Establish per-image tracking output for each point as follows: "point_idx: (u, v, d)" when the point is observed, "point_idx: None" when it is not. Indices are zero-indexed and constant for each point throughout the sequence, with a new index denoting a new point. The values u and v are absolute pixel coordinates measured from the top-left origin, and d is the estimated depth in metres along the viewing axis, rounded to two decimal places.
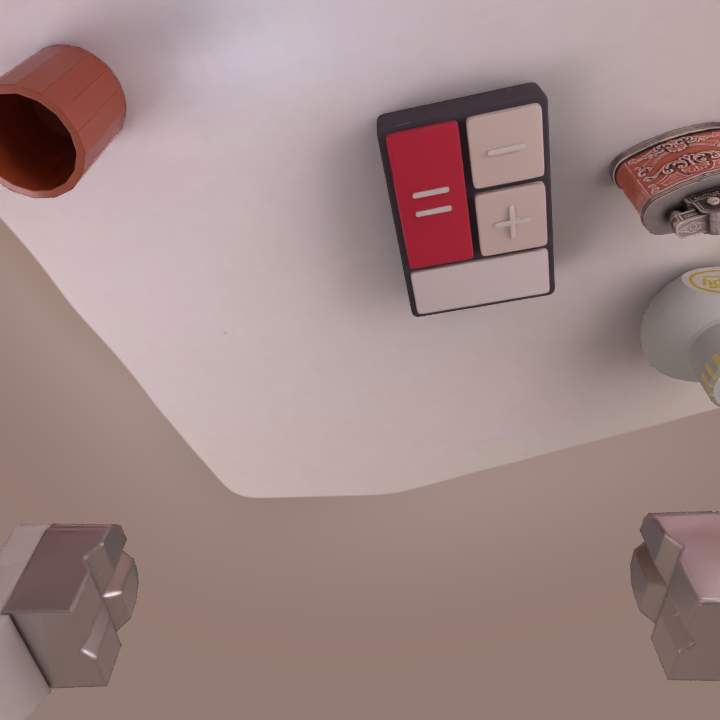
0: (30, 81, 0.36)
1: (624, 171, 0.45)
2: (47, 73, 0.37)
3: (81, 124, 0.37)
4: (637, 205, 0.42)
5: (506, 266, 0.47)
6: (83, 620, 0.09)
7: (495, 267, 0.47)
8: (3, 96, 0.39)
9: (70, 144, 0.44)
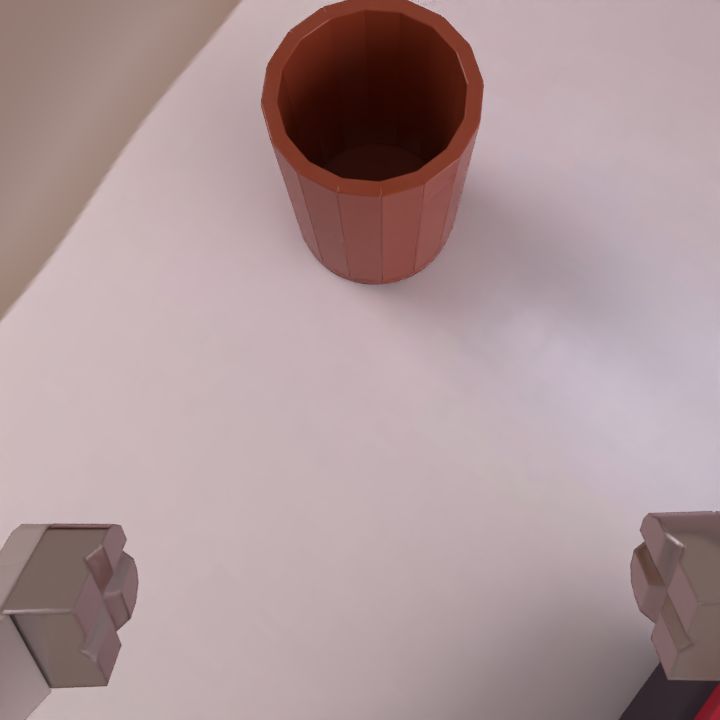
0: None
1: None
2: None
3: (459, 167, 0.20)
4: None
5: None
6: (83, 620, 0.09)
7: None
8: (366, 87, 0.24)
9: None
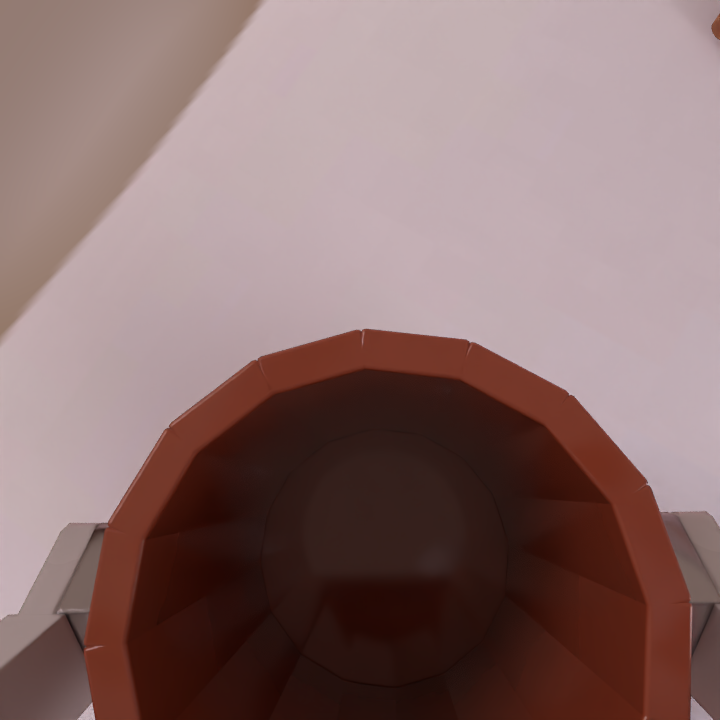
0: None
1: None
2: None
3: None
4: None
5: None
6: None
7: None
8: (367, 410, 0.11)
9: (263, 607, 0.14)
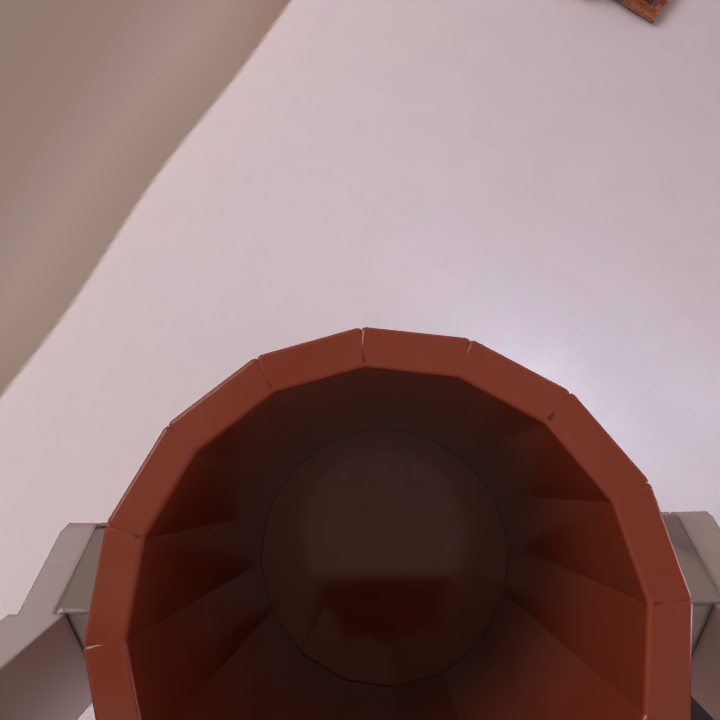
0: None
1: None
2: None
3: None
4: None
5: None
6: None
7: None
8: (367, 409, 0.11)
9: (263, 606, 0.14)
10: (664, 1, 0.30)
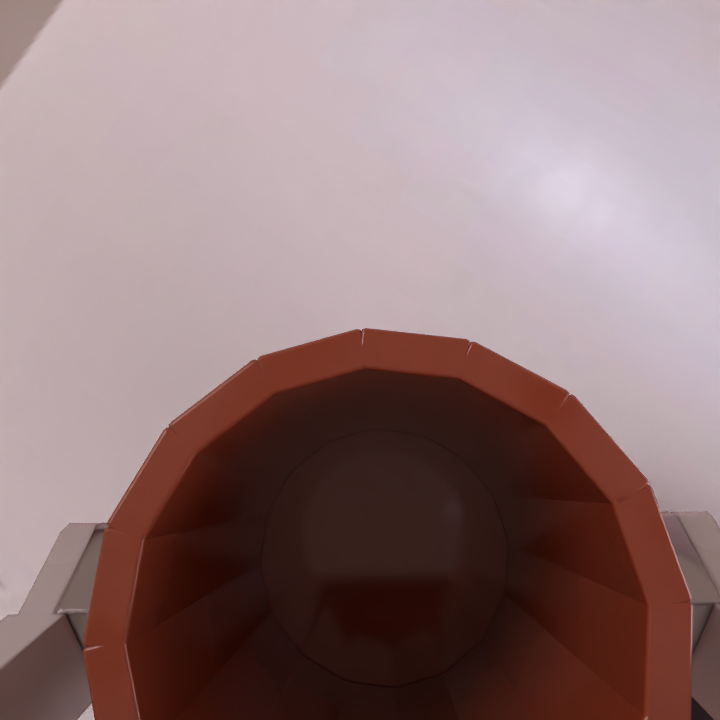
0: None
1: None
2: None
3: None
4: None
5: None
6: None
7: None
8: (367, 409, 0.11)
9: (263, 607, 0.14)
10: None
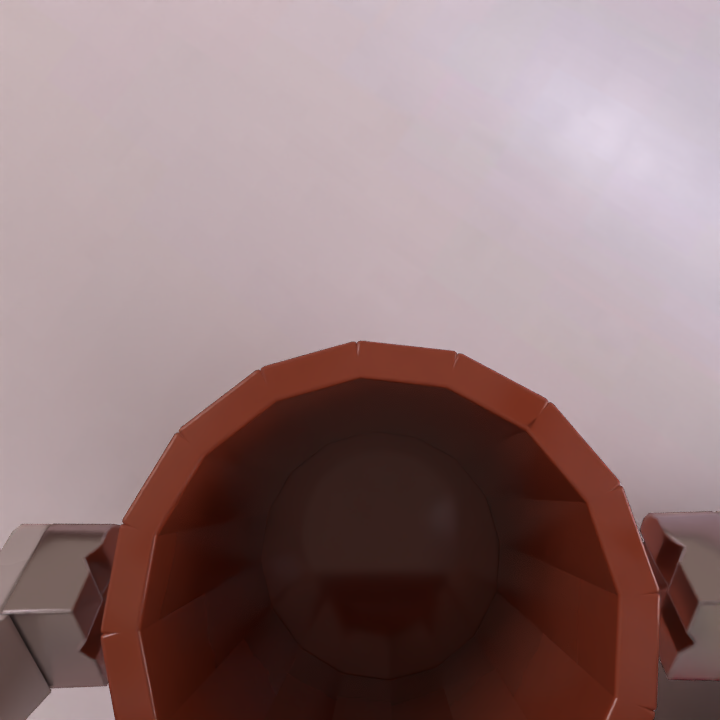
0: None
1: None
2: None
3: None
4: None
5: None
6: (83, 620, 0.09)
7: None
8: (363, 414, 0.12)
9: (264, 602, 0.15)
10: None
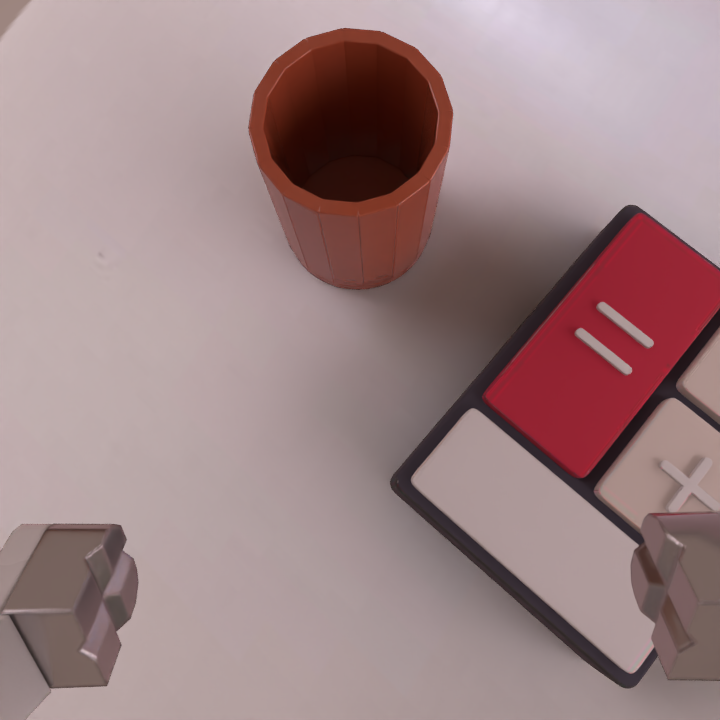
0: None
1: None
2: None
3: (430, 188, 0.21)
4: None
5: (610, 551, 0.23)
6: (83, 620, 0.09)
7: (595, 533, 0.23)
8: (347, 107, 0.25)
9: None
10: None
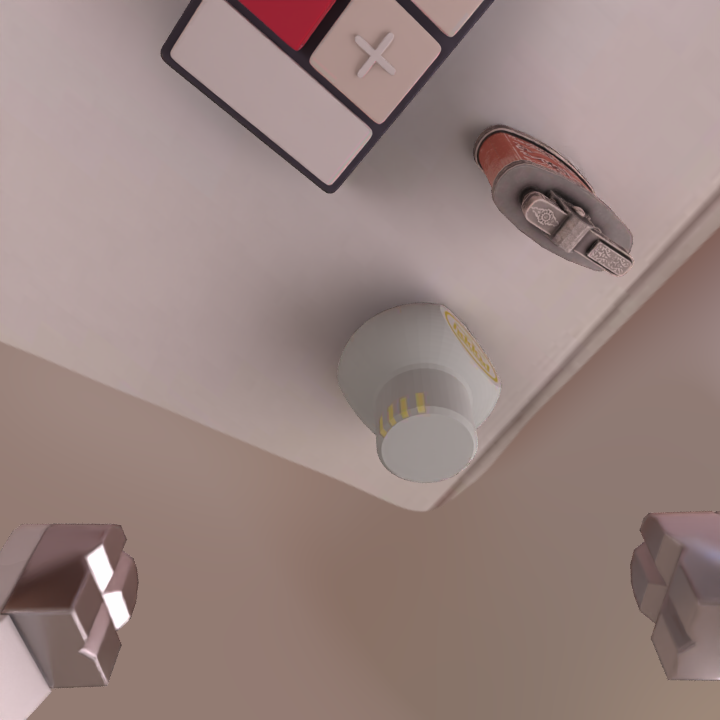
0: None
1: (501, 137, 0.35)
2: None
3: None
4: (499, 164, 0.32)
5: (318, 106, 0.32)
6: (83, 620, 0.09)
7: (307, 93, 0.32)
8: None
9: None
10: None
